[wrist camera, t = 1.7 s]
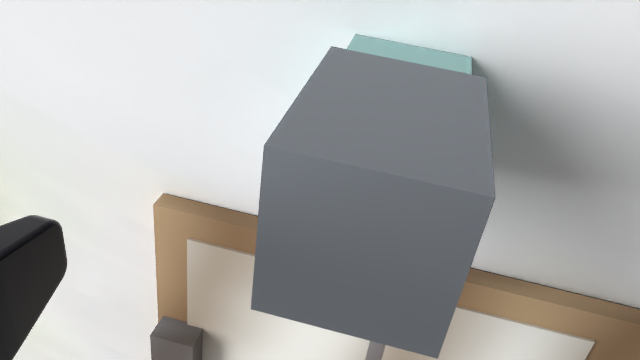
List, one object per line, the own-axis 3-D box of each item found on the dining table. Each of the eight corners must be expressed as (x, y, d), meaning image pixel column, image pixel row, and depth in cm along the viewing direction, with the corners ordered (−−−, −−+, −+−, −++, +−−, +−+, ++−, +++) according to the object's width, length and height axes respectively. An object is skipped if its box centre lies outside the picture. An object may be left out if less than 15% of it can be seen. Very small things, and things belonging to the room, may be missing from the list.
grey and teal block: (484, 49, 14) (495, 198, 8) (449, 168, 16) (438, 358, 10) (347, 23, 14) (264, 145, 8) (329, 141, 16) (250, 308, 10)
